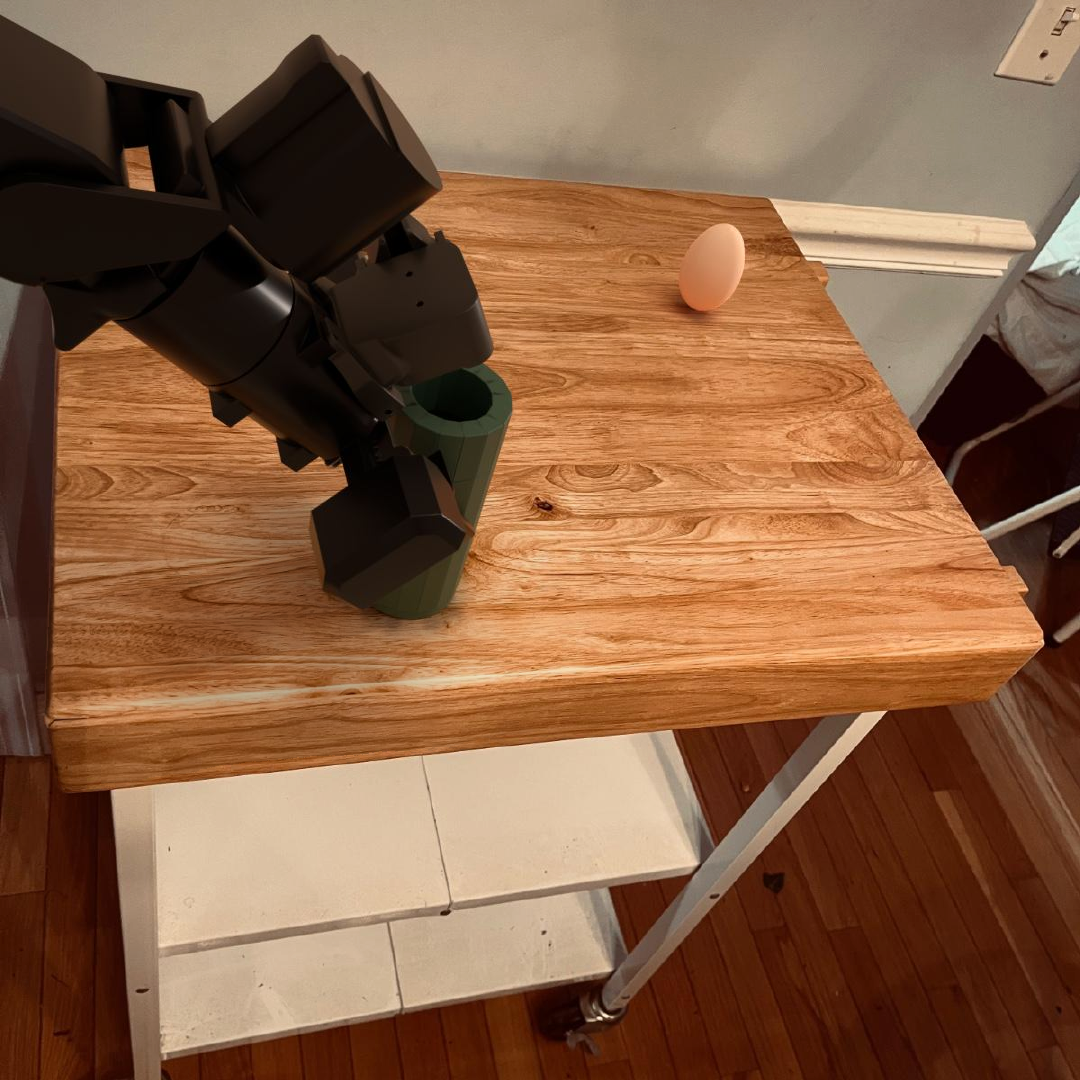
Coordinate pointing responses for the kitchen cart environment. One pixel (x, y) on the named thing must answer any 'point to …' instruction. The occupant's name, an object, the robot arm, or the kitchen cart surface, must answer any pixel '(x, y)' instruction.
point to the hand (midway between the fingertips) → (452, 492)
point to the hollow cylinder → (451, 465)
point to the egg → (712, 267)
